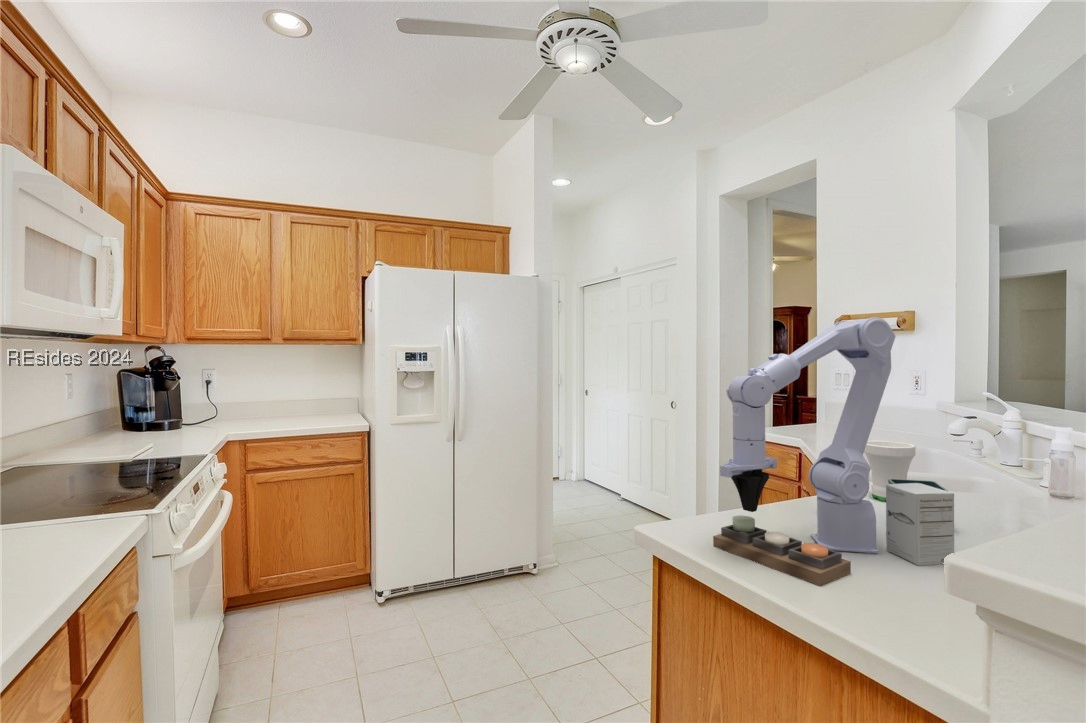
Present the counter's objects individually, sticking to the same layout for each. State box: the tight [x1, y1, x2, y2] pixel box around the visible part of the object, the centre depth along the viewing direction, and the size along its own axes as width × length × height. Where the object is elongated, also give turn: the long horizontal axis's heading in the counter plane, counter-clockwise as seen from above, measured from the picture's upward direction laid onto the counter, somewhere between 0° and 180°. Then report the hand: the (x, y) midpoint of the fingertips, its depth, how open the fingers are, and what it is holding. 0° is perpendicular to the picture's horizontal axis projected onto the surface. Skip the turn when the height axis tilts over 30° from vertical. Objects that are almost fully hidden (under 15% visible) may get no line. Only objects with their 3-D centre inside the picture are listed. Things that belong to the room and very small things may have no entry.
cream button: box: [765, 531, 790, 546], centre depth 92 cm, size 4×4×2 cm
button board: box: [712, 524, 852, 587], centre depth 92 cm, size 21×9×4 cm, turn 31°
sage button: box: [732, 515, 756, 532], centre depth 98 cm, size 4×4×2 cm
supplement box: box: [885, 483, 955, 566], centre depth 92 cm, size 7×7×13 cm
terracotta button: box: [801, 542, 828, 559], centre depth 86 cm, size 4×4×2 cm
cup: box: [863, 440, 917, 502], centre depth 131 cm, size 11×11×14 cm
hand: (749, 510), depth 97 cm, fingers closed
